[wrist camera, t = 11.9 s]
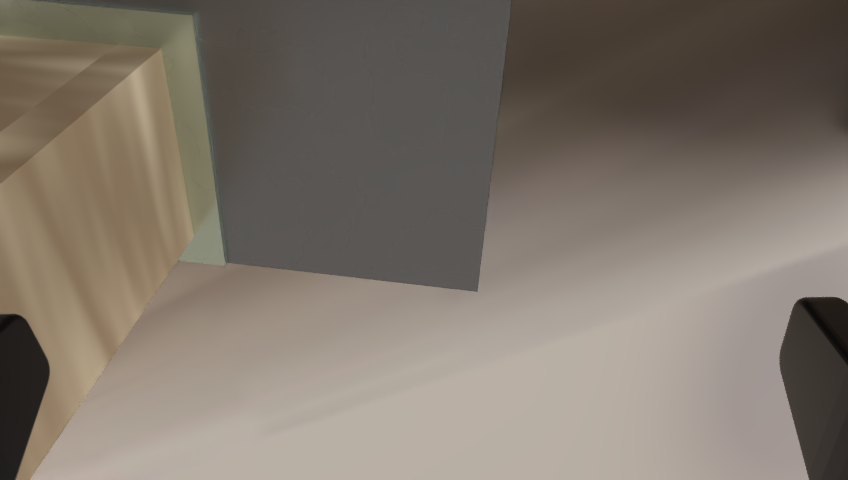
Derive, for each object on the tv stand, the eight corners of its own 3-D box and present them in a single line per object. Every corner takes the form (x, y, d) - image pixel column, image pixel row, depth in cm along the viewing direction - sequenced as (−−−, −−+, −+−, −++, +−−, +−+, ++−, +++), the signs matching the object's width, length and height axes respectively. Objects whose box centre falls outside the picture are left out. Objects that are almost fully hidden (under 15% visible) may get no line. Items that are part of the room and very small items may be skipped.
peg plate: (555, -369, 15) (564, -413, 10) (480, 263, 24) (468, 385, 19) (-225, -409, 16) (-522, -465, 11) (-12, 207, 25) (-130, 310, 21)
